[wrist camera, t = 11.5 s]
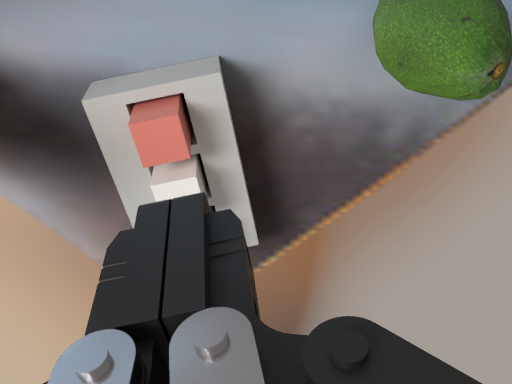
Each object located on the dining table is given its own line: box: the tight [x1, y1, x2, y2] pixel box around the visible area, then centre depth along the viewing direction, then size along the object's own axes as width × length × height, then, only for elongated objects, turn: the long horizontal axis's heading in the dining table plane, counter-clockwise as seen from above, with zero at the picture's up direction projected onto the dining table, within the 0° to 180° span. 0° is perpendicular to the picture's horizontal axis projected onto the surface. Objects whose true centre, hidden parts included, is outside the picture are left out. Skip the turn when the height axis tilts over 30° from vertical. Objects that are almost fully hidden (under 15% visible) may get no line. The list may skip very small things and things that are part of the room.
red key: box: [128, 93, 191, 168], centre depth 33 cm, size 3×3×4 cm
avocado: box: [373, 0, 512, 100], centre depth 30 cm, size 8×8×12 cm
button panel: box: [81, 56, 259, 247], centre depth 38 cm, size 10×16×4 cm, turn 10°
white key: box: [150, 154, 206, 202], centre depth 36 cm, size 3×3×4 cm
